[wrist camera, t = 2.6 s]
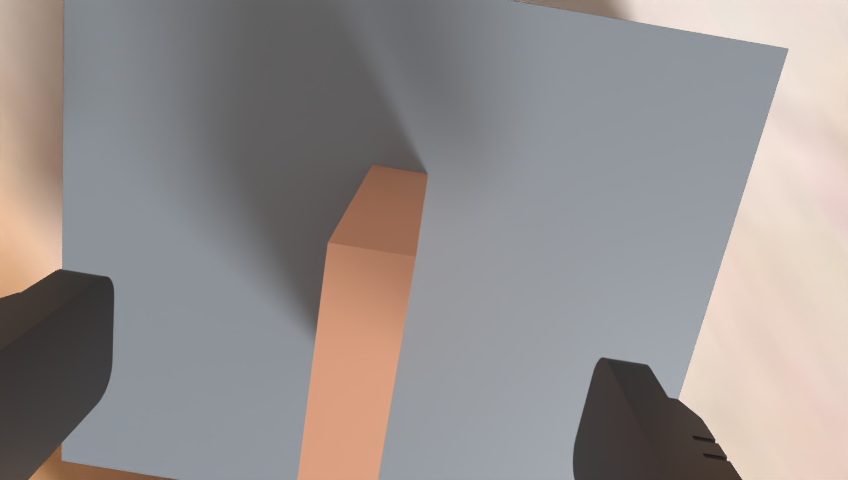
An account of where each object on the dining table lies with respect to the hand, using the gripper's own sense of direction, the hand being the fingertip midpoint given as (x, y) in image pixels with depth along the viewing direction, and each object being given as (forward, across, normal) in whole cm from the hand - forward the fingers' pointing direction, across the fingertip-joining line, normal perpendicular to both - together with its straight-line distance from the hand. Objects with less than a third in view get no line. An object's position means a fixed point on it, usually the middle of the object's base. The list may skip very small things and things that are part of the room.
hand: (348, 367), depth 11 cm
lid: (+6, 0, 0) cm, 6 cm away
